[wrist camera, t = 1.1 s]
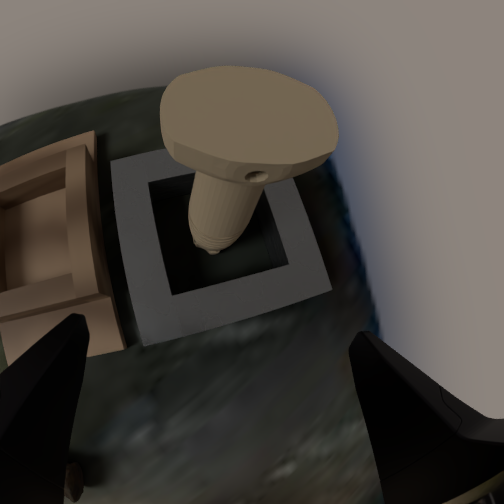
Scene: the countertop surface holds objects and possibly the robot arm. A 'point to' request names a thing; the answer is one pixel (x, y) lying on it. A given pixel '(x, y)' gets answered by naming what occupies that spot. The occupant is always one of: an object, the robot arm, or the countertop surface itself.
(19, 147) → the countertop surface
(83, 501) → the countertop surface
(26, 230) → the tan piece
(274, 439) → the countertop surface
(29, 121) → the countertop surface
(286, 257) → the socket block
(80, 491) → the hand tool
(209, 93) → the handle
